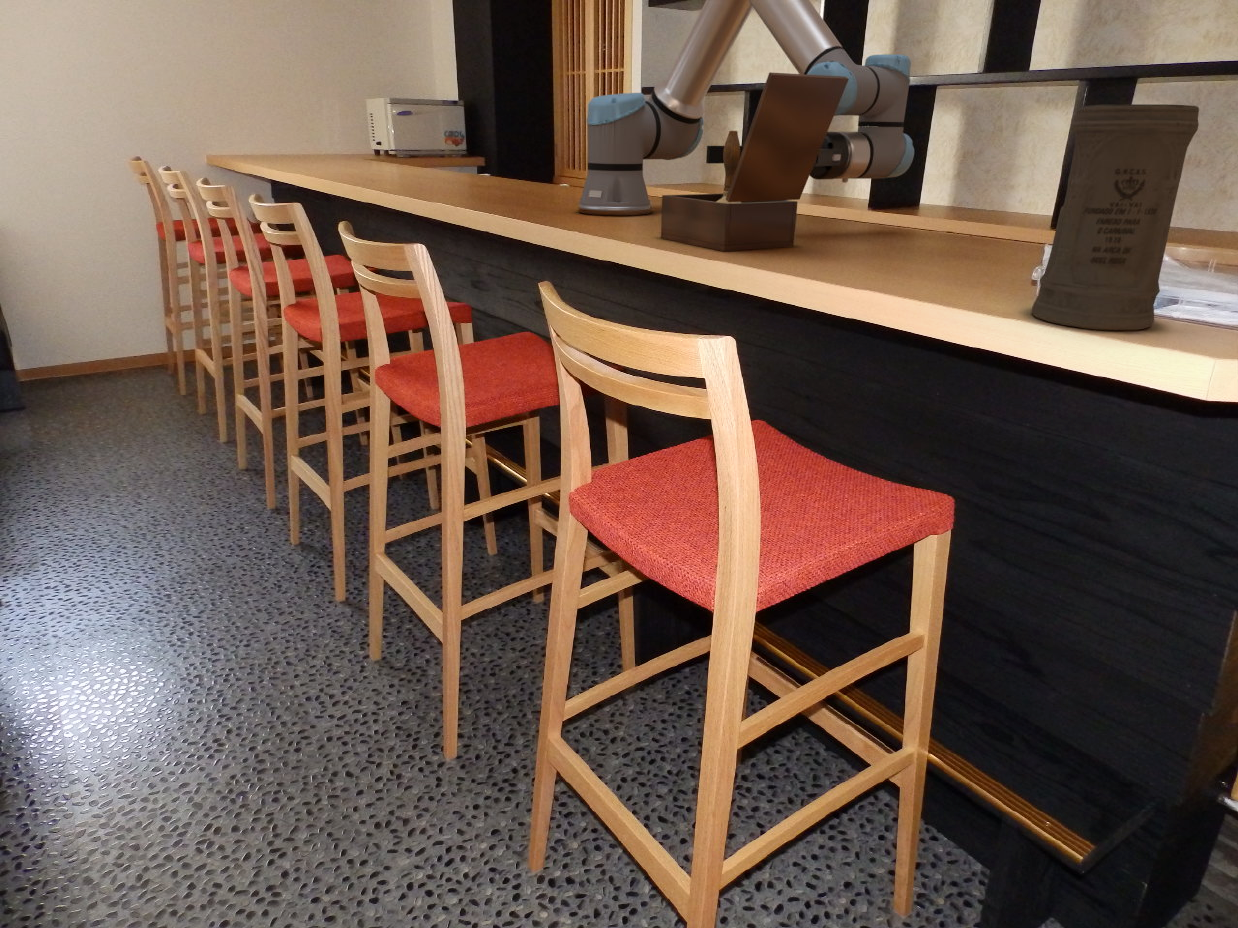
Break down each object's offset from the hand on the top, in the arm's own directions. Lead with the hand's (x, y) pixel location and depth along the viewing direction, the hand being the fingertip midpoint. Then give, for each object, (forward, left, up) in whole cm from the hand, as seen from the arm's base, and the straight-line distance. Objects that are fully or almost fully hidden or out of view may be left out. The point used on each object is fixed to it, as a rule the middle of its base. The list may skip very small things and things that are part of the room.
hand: (732, 156), depth 131 cm
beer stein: (+23, +58, -13) cm, 64 cm away
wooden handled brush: (+1, 0, -12) cm, 13 cm away
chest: (+1, 0, -13) cm, 13 cm away
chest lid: (+5, +12, +3) cm, 13 cm away
